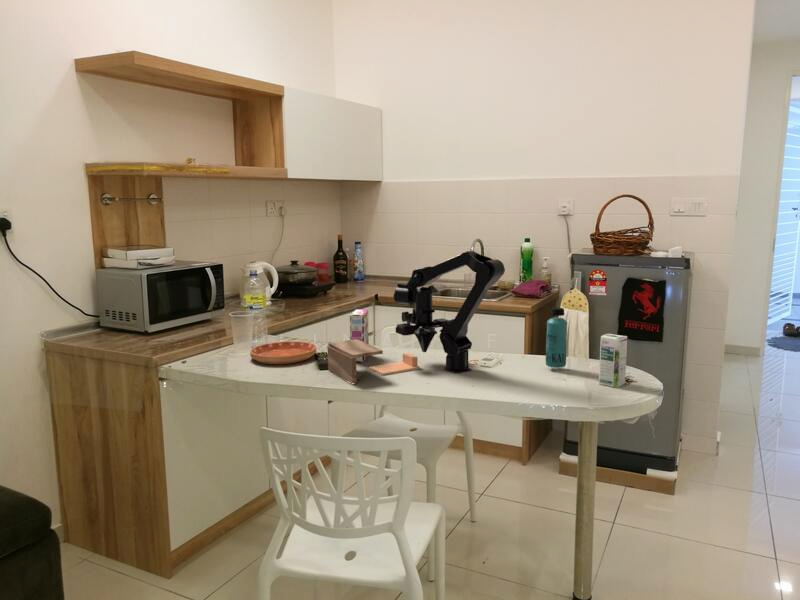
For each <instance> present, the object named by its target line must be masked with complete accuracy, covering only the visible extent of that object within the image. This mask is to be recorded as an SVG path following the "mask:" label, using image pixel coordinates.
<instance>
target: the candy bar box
mask: <svg viewBox="0 0 800 600" xmlns="http://www.w3.org/2000/svg"><path fill="white" fill-rule="evenodd" d="M349 329H350V330H349V334H350V336H349V337H350V339H349V340H355V339H357V340H360V341H362V342H364V343H367V344H369V345H370V342H369V339H370V338H369V309H354V310H353V311H352V312H351V313H350V314H349ZM367 358H368V356H365V357H358V358H356V363H365V361H366V359H367Z"/></svg>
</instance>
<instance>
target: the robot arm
mask: <svg viewBox="0 0 800 600" xmlns="http://www.w3.org/2000/svg"><path fill="white" fill-rule="evenodd" d="M466 266H467V267H468V268H469V270H471V271H472V272H474V273H475V274H474V275H475V276H474V277H475V278H474V283H473V285H472V287H471V289H470V291H469V293H468V295H467V296H466V298H465V300H464V301H463V303H462V305H461V306H460V308H459V310H458V312H457V314H456V315H455V317H454V318H452V319H446V318H443V317H442V318H436V319H435V318H433V313H435V312H436V311H435V308H433V294H437V293H438V292H439V290H438V289H437V288H436V287H435V286H434V285H432V284H433V283H435V282H436V281H438V280H439V279H440V278H441V277H442V276H445V275H446V274H449V273H451V272H453V271H456V270H458V269H461V268H463V267H466ZM505 271H506V268H505V266H504V262H502V261H501V260H499V259H496V258H495V259H493V258H491V257H489V256H486V255H483V254H481V253H480V254H479V252H476V251H474V250H467V251H464V252H461V253H460V254H458V255H455V256H454V257H451V258H449V259H445V260H443V261H442V262H439V263H437V264H434V265H430V266H425V267H420V268H415V269H414V270H412V272H411V273H412V274H411V277H410V278H409V280H408V282H407V283H403V282H400V283H397V285H396V288H395V290H394V293H393V300H394V302H395V303H397V304H403V305H414V307H413V308H412V312H411V313H410V312H409V311H403V312H401V320H402V322H403V323H398V324H396V326H395V333H396V334H399V335H401V336H406V337H407V336H411V335H412V336H413V335H415V337H416V339H417V341H418V344H419V346H420V349H421V352H422V353H427V351H428V349H429V346H430V345H431V342H432V341H433V339H434V337H435V335H436V334H438V330H437V331H436V328H441V329H440V330H439V333H440V334H439V337H438V338H439V340H440V344H441V345H442V348H443V351H444V353H446V356H445V366H444V368H443V369H445V370H446V371H449V372H452V373H455V374H457V373H461V372H462V373H463V372H468V371H472V368H471V367H469V350H471V349H472V345H473V343H472V341H471V340H470V339H469V338H468V336H467V334H468V330H469V323H470V321H471V320H472V318H473V316H474V314H475V313H476V311H477V310H478V308H479V307H480V305H481V303H482V302H483V299H484V298H485V296H486V295H487V293H488V291H489V289H491V288H492V287H493V286H494V285H495V284H497V283H498V281H500V279H501V278H502V277H503V276H504V274H505ZM428 285H429V286H428ZM426 286H428V287H426Z"/></svg>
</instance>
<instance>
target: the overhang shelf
mask: <svg viewBox="0 0 800 600" xmlns="http://www.w3.org/2000/svg"><path fill="white" fill-rule="evenodd" d="M326 348H327V369H328V370H329V371H328V372H331V373H332V374H333V373H334V375H335V374H336V375H335V376H337V375H338V376H337V377H338V378H340V377H341V378H340V379H342V378H343V379H342V380H344V379H345V380H347V381H349V382H351V383H358V380H357V379H360V378H361V379H362V377H361V372H359V371H358V370H357V362H356V358H358V357H365V356H367V357H369V356H370V357H372V356H376V355H377V356H378V355H383V353H384V351H383V350H382V349H381V348H378V347H376V346H373V345H371V344H370V343H369V344H367V343H364V342H362V341H360V340H357V339H355V340H350V339H349V340H344V341H343V340H342V341H335V342H329V343H328V346H327V347H326ZM361 379H360V380H361ZM345 380H344V381H345ZM347 381H346V382H347ZM349 382H348V383H349ZM351 383H350V384H351Z"/></svg>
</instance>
